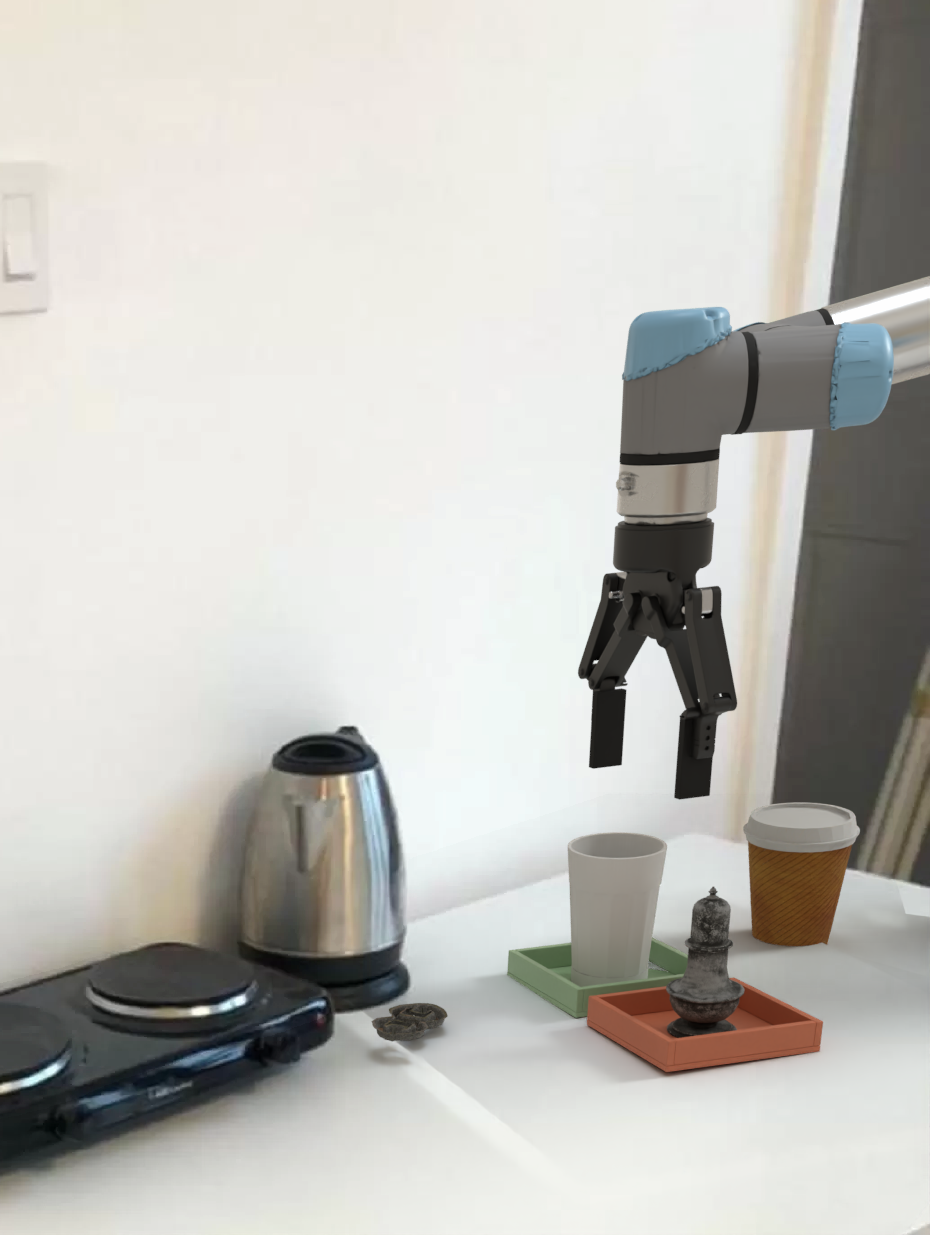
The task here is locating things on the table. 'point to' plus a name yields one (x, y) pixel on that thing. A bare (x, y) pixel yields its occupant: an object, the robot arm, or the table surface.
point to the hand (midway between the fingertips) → (646, 781)
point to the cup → (613, 905)
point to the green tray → (552, 981)
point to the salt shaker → (705, 974)
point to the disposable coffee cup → (797, 869)
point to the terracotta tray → (758, 1036)
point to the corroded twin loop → (409, 1021)
